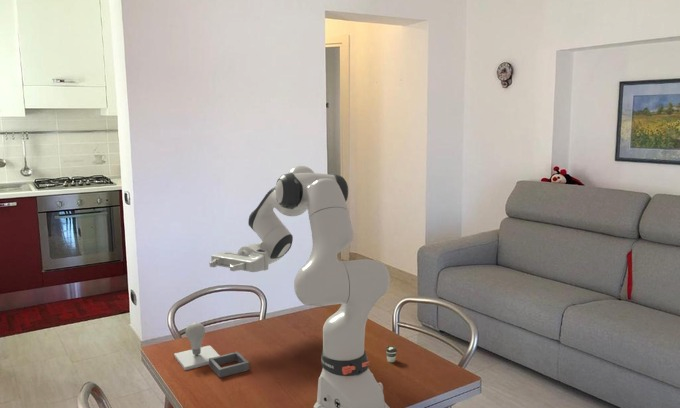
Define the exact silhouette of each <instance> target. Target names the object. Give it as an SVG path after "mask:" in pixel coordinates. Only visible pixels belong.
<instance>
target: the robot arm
mask: <svg viewBox="0 0 680 408" xmlns="http://www.w3.org/2000/svg"><path fill="white" fill-rule="evenodd" d="M348 198H349V186H348V183H347V181H346V179H345V178H344V177H343V176H342V175H338V174H334V173H331V174H327V173H320V172H319V173H318V172H317V173H316V172H315V171H313V170H312V169H311V168H309V167H308V166H305V165H297V166H294V167H293V168H291V169H290V170H289V172H288V173H285V174H282V175H280V176H279V178H278V179H277V180H276V184H275V186H274V187H272V188H270V189H269V190H268V191H267V193H266V194H265V195H264V196H263V198H262V200H261V201H260V203H259V204H258V205H257V207H256V208H255V209H254V210H253V211H252V212H251V213H250V214H249V217H248V223H247V224H248V226H249V227H250V228H251V230H252V231H253V232H254V233H255V234H256V235H257V237H259V239H260V240H261V241H259V242H257V243H251V244H248V245H244V246H242V247H240V248H239V249H238V251H237V252H234V251H233V252H232V251H222V252H217V253H213V254H212V255H211V257H210V259H211V260H210V262H209V267H210V268H217V266H218V267H221V268H228V269H229V270H230V271H231V272H237V271H245V272H249V273H258V272H262V271H264V272H265V271H267V270H269V265H271V264H273V263H275V262H277V261H280V260H281V259H282V258H283V257H284V256H285V255H286V254H287V253H288V252H289V250H290V249H291V248H292V245H293V239H294V237H293V236H294V235H292V233H291V232H290V230H289V229H288V228H287V227H286V225H284V223H283V222H282V220H281V219H280V218H279V217H278V216H277V214H276V213H275V210H277V211H278V212H279V213H280V214H282V215H283V216H287V217H298V216H300V215H303V214H304V213H305V212H306V211H307V212H308V218H309V219H308V220H309V224H310V230H311V239H312V247H311V248H312V249H311V252H310V253H311V254H310V255H309V258H308V260H307V261H306V263H305V264H304V265H303V266H302V267H301V268H300V269H299V270H298V272H297V273H296V275H295V277H294V281H293V289H294V290H293V291H294V293H295V295H296V297H297V299H298V300H299V302H301V304H303V305H305V306H311V307H312V306H313V307H314V306H315V307H326V306H333V305H340V307H339V308H338V310H337V311H335V313H333V314H331V315H330V316H329V317H327V319H326V321H324V324H323V327H322V351H321V357H320V360H321V366H322V369H321V372H320V376H319V377H318V380H317V381H318V382H317V394H316V395H317V396H316V402H315V403H314V405H313V408H391V407H390V406H389V405H388V404H387V402H385V395H384V385H383V383H382V382H378V381H377V380H376V378H375V376H374V373H372V372H371V370H370V368H369V367H370V366H371V364H369V363H370V362H371V361H370V360H368V356H367V352H366V350H365V335H366V325H367V321H368V319H369V315H370V314H371V311H372V310H373V308H374V306H375V305H376V304H377V303H378V301H379V300H380V299H381V298H382V297H384V296H385V295H386V294H387V292H388V291H389V288H390V285H391V275H390V272H389V270H388V268H387V266H386V265H385V264H384V263H383V262H382V261H381V260H377V259H376V260H375V259H374V260H373V259H364V258H362V259H354V260H353V259H351V260H343V261H342V260H339V258H338V254H340V253H342V252H343V251H344V250H346V248H348V247H349V246H351V244H352V243H353V241H354V240H353V239H354V231H353V227H352V221H351V217H350V214H349V209H348V205H347V204H348V203H347V201H348ZM274 209H275V210H274Z"/></svg>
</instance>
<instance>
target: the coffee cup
mask: <svg viewBox="0 0 680 408" xmlns="http://www.w3.org/2000/svg"><path fill="white" fill-rule="evenodd" d="M385 352H386V353H385V354H386V361H387V362H388V363H395V362H396V356H397V352H398V349H397V347H396V346H394V345H388V346H386V348H385Z"/></svg>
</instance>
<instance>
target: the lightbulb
mask: <svg viewBox="0 0 680 408" xmlns="http://www.w3.org/2000/svg"><path fill="white" fill-rule="evenodd" d="M205 335H206V327H205V326H204V325H203V324H202V323H201V322H198V321H193V322H191V323H189V324H188V325H187V327H186V328H185V336H186V338H187V340H188V341H189V343H190V348H191V350H192V353H193V354H194V355H196V356H197V355H199V354H200V353H201V347H202V342H203V339H204V337H205Z"/></svg>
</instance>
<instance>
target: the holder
mask: <svg viewBox="0 0 680 408" xmlns="http://www.w3.org/2000/svg"><path fill="white" fill-rule="evenodd" d="M233 362H237V363H235V364H231V365H227V366H223V367H221V366H220V365H224V364H229V363H233ZM208 366H209V367H210V369H211V370H212V371H213V372H214V373H215V374H216V375H217V376H218V378H220V379H221V378H224V377H228V376H231V375H236V374H239V373H243V372H247V371H250V361H248V359H246V358H245V357H244V356H243V355H242V354H241V353H240V352H239V351H234V352H230V353H227V354H223V355H222V354H221V355H220V356H217V357H213V358H209V364H208Z"/></svg>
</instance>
